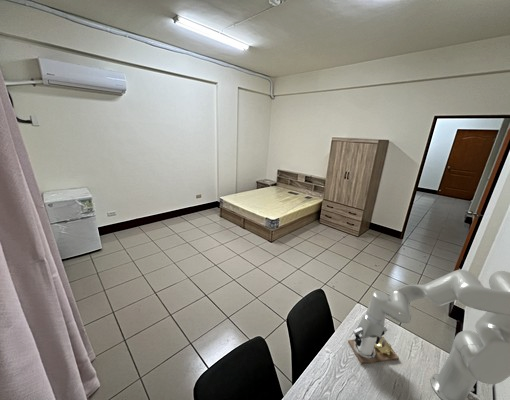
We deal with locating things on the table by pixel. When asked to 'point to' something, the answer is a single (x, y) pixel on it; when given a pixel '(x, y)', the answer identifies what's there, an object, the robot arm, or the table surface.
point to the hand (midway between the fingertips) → (366, 342)
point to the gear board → (377, 357)
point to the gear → (383, 347)
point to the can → (367, 345)
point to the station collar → (364, 355)
